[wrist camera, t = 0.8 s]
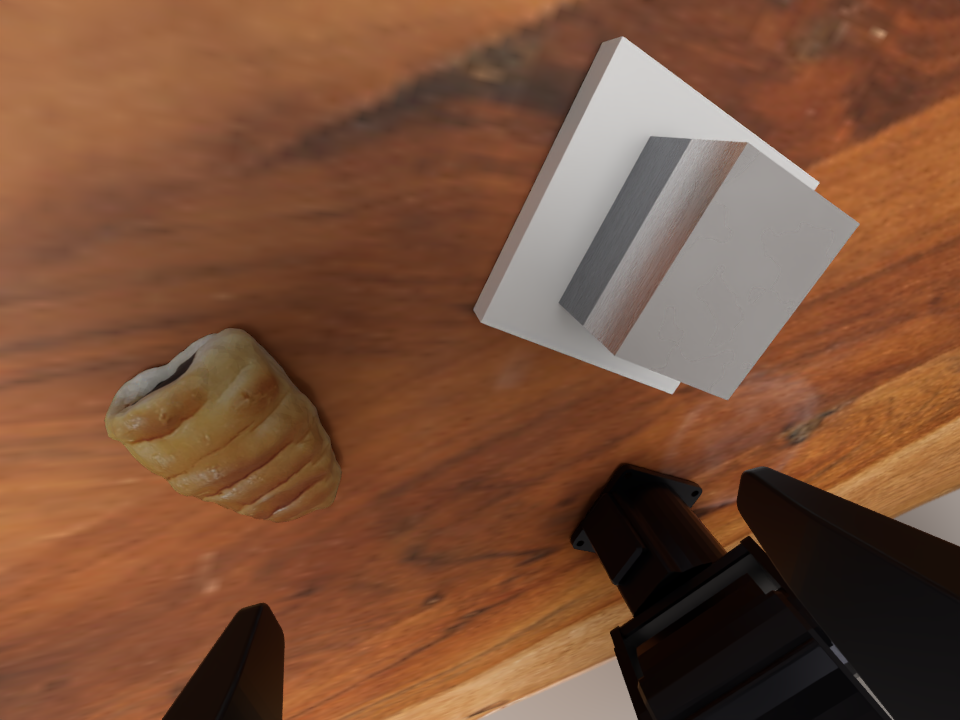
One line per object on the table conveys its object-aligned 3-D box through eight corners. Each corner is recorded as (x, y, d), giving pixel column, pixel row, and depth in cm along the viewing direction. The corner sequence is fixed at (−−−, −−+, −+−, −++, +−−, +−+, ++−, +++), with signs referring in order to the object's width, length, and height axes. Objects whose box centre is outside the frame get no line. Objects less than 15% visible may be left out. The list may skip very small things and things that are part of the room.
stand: (791, 178, 21) (819, 182, 20) (655, 379, 24) (672, 394, 23) (602, 42, 17) (622, 36, 15) (473, 309, 20) (480, 322, 19)
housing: (747, 199, 19) (860, 223, 15) (654, 343, 21) (727, 400, 17) (650, 136, 17) (747, 142, 13) (558, 302, 19) (614, 355, 15)
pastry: (377, 451, 23) (379, 508, 20) (266, 519, 23) (250, 585, 20) (237, 305, 18) (209, 347, 15) (102, 393, 19) (45, 452, 15)
